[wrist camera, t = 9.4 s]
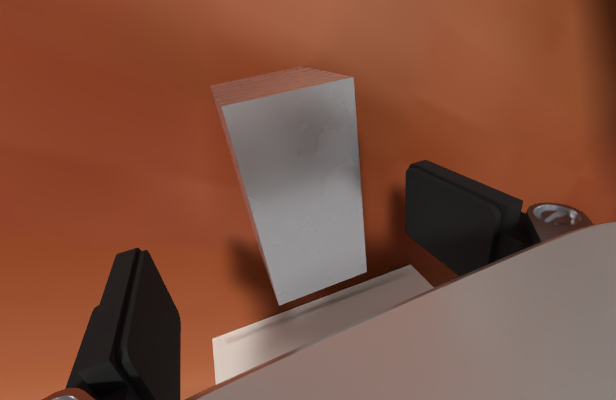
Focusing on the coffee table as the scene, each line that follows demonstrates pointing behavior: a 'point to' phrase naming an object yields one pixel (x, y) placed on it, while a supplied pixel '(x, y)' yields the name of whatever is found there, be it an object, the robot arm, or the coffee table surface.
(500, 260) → the robot arm
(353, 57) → the coffee table surface
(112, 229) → the coffee table surface
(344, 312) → the box
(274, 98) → the block
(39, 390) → the coffee table surface
